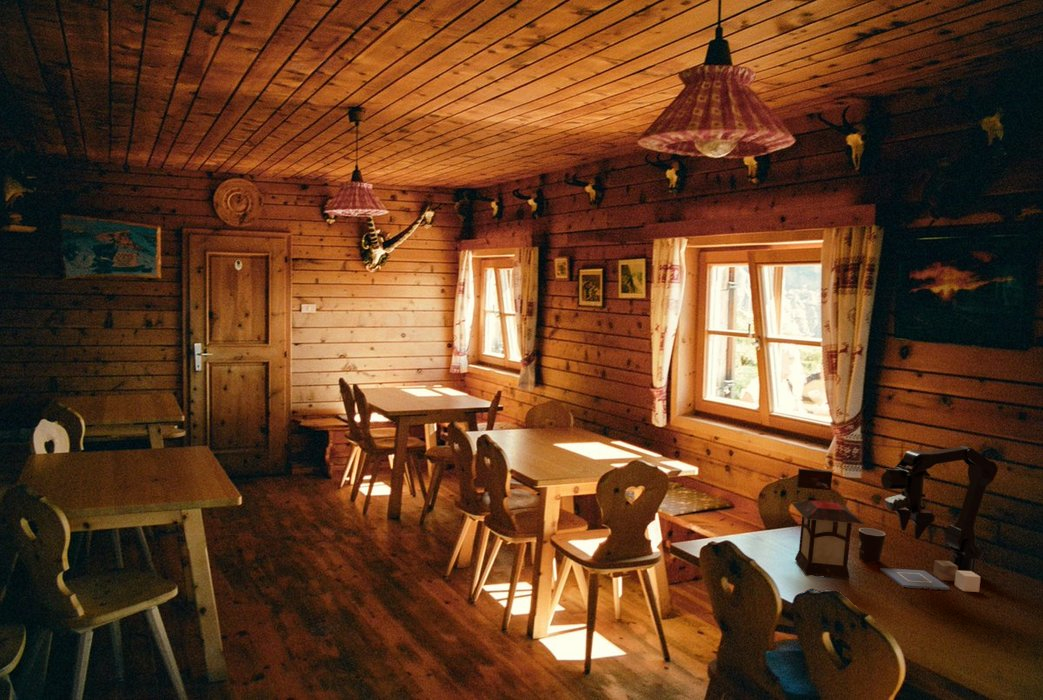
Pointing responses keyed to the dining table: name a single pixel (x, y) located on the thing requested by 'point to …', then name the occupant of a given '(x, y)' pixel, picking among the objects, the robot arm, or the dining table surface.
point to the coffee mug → (870, 544)
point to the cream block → (967, 581)
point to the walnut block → (945, 570)
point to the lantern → (823, 529)
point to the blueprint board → (914, 579)
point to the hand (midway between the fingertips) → (909, 534)
